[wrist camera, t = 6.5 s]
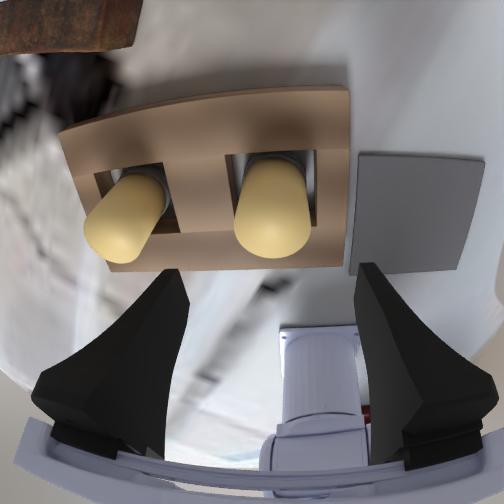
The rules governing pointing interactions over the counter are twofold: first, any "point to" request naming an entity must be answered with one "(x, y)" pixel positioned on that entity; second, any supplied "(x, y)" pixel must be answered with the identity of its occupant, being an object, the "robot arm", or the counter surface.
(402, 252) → the mat
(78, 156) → the socket board
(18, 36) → the brick
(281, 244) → the yellow peg
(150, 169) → the tan domed cylinder
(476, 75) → the counter surface
